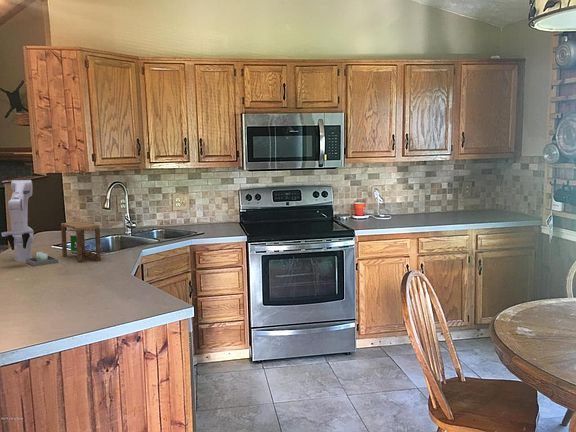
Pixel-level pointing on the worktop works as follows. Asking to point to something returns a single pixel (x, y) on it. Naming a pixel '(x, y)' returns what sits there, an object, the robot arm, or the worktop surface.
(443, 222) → the worktop surface
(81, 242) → the small wooden stool
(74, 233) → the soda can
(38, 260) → the pale green rounded cylinder
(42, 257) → the mint green capsule
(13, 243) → the robot arm
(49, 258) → the tray
